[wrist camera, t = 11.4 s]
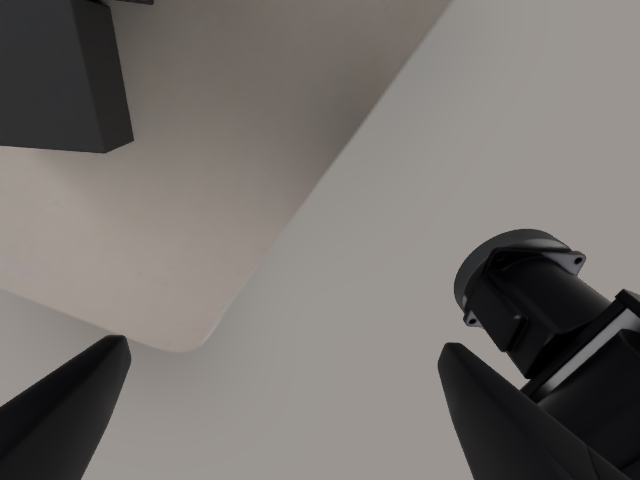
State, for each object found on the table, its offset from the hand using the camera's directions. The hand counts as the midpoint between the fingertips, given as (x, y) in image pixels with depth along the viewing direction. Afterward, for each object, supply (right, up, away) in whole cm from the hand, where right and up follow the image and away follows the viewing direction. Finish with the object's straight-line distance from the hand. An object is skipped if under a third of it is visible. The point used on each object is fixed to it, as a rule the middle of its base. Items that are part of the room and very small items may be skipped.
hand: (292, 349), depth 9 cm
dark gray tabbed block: (-12, +12, +6) cm, 18 cm away
